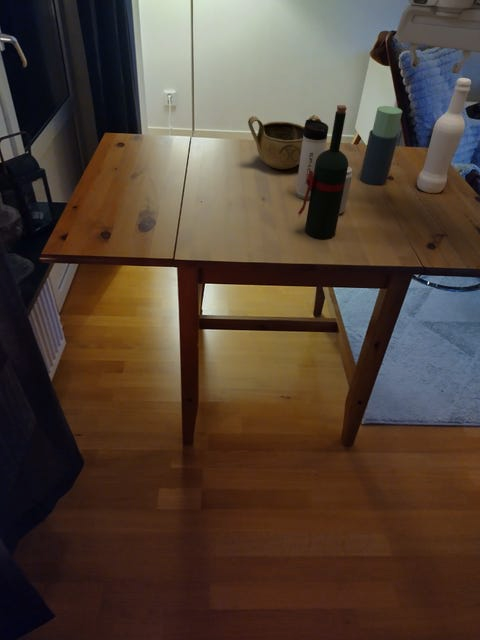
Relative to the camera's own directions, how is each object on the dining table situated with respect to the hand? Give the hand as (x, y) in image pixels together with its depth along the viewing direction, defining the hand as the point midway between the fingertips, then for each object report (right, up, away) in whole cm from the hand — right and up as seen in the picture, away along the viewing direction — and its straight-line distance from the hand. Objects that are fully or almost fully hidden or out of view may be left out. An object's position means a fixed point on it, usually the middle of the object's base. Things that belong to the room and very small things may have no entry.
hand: (434, 69), depth 106 cm
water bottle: (-4, -14, +36) cm, 39 cm away
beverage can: (-19, -28, +20) cm, 39 cm away
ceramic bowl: (-32, -8, +41) cm, 53 cm away
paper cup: (-3, -4, +27) cm, 27 cm away
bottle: (+12, -18, +33) cm, 40 cm away
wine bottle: (-26, -35, +11) cm, 45 cm away
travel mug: (-26, -22, +26) cm, 43 cm away
